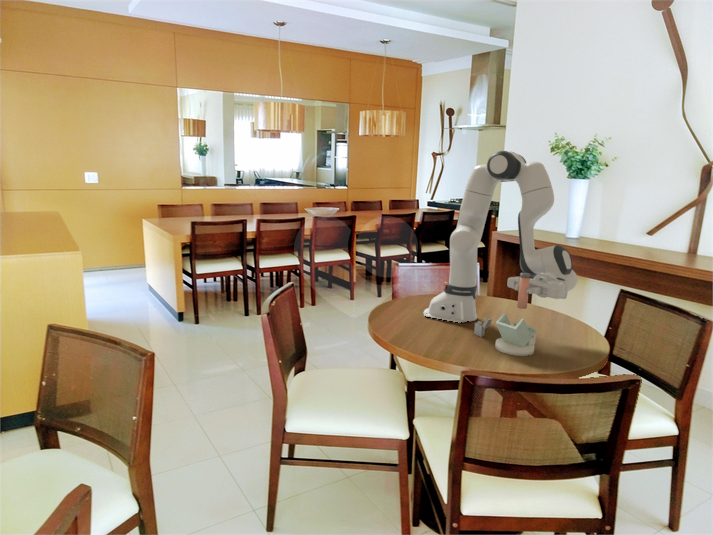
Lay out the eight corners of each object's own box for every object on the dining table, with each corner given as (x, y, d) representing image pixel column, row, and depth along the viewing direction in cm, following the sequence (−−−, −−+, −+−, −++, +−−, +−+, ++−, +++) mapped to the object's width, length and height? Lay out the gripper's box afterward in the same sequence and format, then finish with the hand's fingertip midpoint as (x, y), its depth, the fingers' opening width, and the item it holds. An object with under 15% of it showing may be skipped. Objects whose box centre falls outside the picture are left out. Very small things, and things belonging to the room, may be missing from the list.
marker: (517, 308, 166) (520, 274, 163) (516, 305, 169) (519, 272, 166) (527, 309, 165) (530, 275, 162) (526, 306, 168) (530, 273, 165)
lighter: (473, 333, 184) (475, 313, 182) (477, 333, 184) (478, 313, 183) (486, 339, 177) (488, 318, 176) (490, 339, 178) (492, 318, 177)
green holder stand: (518, 358, 160) (522, 322, 157) (487, 346, 170) (490, 312, 167) (541, 351, 167) (545, 316, 165) (510, 340, 178) (513, 307, 175)
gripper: (521, 271, 181) (498, 275, 172) (572, 281, 164) (549, 286, 156) (519, 287, 182) (496, 292, 174) (570, 299, 166) (547, 305, 158)
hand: (522, 289), depth 165 cm, fingers closed on marker, 3 cm apart
